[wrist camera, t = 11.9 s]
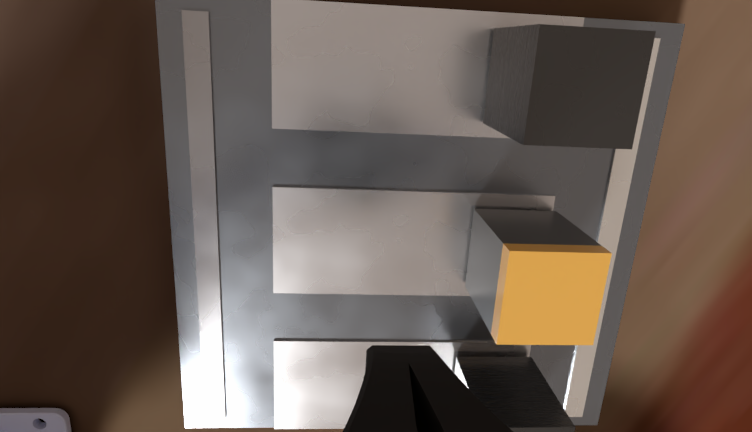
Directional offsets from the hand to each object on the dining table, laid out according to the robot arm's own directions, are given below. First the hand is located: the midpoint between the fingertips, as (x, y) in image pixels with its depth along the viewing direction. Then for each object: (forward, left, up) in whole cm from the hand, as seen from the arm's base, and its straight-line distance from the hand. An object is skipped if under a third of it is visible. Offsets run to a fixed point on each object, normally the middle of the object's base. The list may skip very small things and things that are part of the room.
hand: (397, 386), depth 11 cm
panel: (+2, 0, -10) cm, 10 cm away
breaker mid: (+5, 0, -8) cm, 10 cm away
